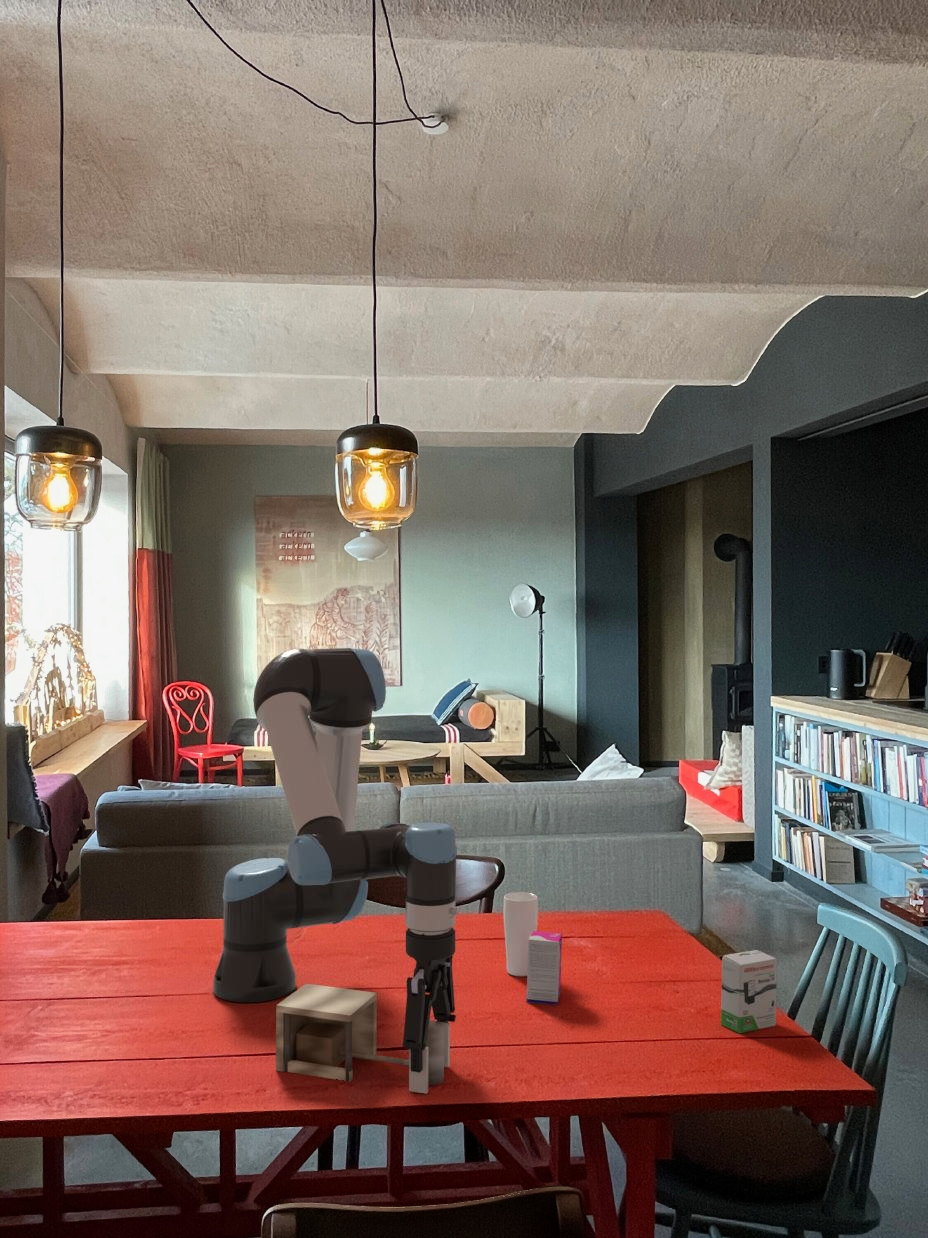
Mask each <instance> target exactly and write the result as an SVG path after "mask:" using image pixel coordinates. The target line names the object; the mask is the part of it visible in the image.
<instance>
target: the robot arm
mask: <svg viewBox="0 0 928 1238" xmlns="http://www.w3.org/2000/svg"><path fill="white" fill-rule="evenodd" d="M386 685H387V684H386V678H385V673H384V670H383V667H382V664H381V662H380V660H379V658H378V657H377V656H376V654H375V653H374V652H373V651H371V650H369V649H364V648H362V649H361V648H352V647H339V648H293V649H289V650H286V651H284V652H281V653H280V654H278V655H276V656H275V657H274V658H273V659H271V660H270V662H268V664H266V666H264V668H263V669H262V670H261V673H260V675H259V677H258V679H257V681H256V684H255V686H254V687H255V688H254V691H253V692H254V693H253V702H252V703H253V710H254V714H255V718H256V721H257V724H258V725H259V727H261V728H262V729H264V730H265V731H266V734H267V736H268V742H269V744H270V748H271V751H272V755H273V758H274V761H275V765H276V768H277V772H278V775H279V779H280V782H281V785H282V789H283V792H284V795H285V799H286V803H287V806H288V809H289V813H290V816H291V820H292V823H293V826H294V827H293V828H294V831H295V834H296V836H294V837H293V838H292V839H291V840H290V842H289V845H288V848H287V861H288V863H287V861H286V859H283V858H280V857H269V858H267V857H263V858H256V859H250V860H248V861H247V860H246V861H244V862H242V863H239V864H237V865H234V866H233V867H232V868H230V869H229V870H228V871H227V872H226V874H225V877H224V881H223V892H222V900H223V926H222V927H223V932H222V933H223V934H222V936H223V942H222V943H223V944H222V945H223V946H222V952H221V954H220V958H219V961H218V965H217V966H216V970H215V973H214V977H213V982H212V983H213V989H212V990H213V994H214V995H215V996H216V997H218V998H220V999H222V1000H224V1001H230V1002H234V1003H261V1002H268V1001H272V1000H276V999H280V998H283V997H285V996H286V997H287V995H289V994H292V993H293V991H294V990H295V989H296V987H297V985H296V984H297V981H296V980H297V979H296V978H297V976H296V970H295V968H294V965H293V961H292V959H291V955H290V951H289V948H288V944H287V943H288V941H287V937H288V936H287V935H288V930H290V929H298V928H306V927H315V926H322V925H328V924H332V925H337V924H339V923H342V922H343V923H344V922H347V921H352V920H354V919H356V918H357V917H358V916H359V915H360V914H361V913H362V911H363V910H364V908H365V905H366V901H367V897H368V891H369V887H368V886H369V882H368V881H367V880H370V879H371V880H372V879H378V878H379V879H380V878H388V877H389V878H390V877H401V878H403V879H404V880H405V918H404V919H405V923H404V924H405V926H406V927H407V929H406V930H405V953H406V955H407V956H409V957H410V958H412V959H414V961H415V967H414V970H413V974H412V976H413V977H410V976H408V977H407V978H406V1001H405V1002H406V1004H405V1015H404V1029H403V1041H402V1047H403V1049H406V1050H409V1051H408V1053H409V1054H408V1055H409V1057H408V1060H409V1066H408V1070H409V1071H408V1091H409V1092H415V1093H420V1094H425V1095H426V1094H428V1092H429V1086H428V1047H426V1040H427V1034H428V1027H429V1020H430V1019H431V1013H432V1015H433V1018H434V1021H438V1022H441V1023H443V1024H444V1068H448V1067H449V1066H450V1062H451V1061H450V1059H451V1058H450V1057H451V1055H450V1051H451V1050H450V1049H451V1047H450V1046H451V1045H450V1043H451V1041H450V1038H451V1037H450V1036H451V1034H450V1033H451V1029H450V1026H451V1023H455V1022H456V1019H457V1018H456V1017H457V1015H456V1014H455V1011H456V1007H455V1006H456V1003H455V993H454V992H455V990H454V989H455V988H454V977H453V956H454V954H455V952H456V930H455V928H454V927H455V925H456V915H457V914H459V909H458V908H457V907H456V890H457V889H456V888H457V887H456V883H457V881H456V879H457V877H456V876H457V856H458V855H457V853H458V849H457V846H456V845H457V843H456V842H457V841H456V832H455V829H454V827H453V826H451V825H450V824H447V823H442V822H441V823H440V822H435V821H431V822H429V821H427V822H417V823H413V824H411V825H410V824H409V825H407V824H406V823H402V822H400V823H399V822H388V823H386V824H384V825H382V826H381V827H380V828H373V829H362V830H354V829H355V828H354V827H355V819H356V807H357V793H358V785H359V774H360V761H361V760H360V759H361V749H362V739H363V732H364V730H366V729H367V728H368V727H369V726H370V725H371V724H372V717H373V712H378V711H380V710H382V708H383V707H384V704H385V702H386V695H387V690H386V688H387V687H386ZM312 724H313V725H314V726H315V729H316V730H315V733H314V729H313V726H312Z"/></svg>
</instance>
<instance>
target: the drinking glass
mask: <svg viewBox="0 0 928 1238" xmlns="http://www.w3.org/2000/svg"><path fill="white" fill-rule="evenodd" d="M538 898H539V897H538V896H537V895H536V894H534V893H530V892H523V891H522V892H519V891H517V892H509V893H506V894H505V895H504V896H503V911H502V912H503V928H504V929H503V931H504V941H505V955H506V971H507V973H508V974H509V975H511V976H514V977H527V975H528V942H529V941H528V940H529V938H530V936H531V933H532V932H533V931H537V930H538V920H539V903H538V900H539V899H538Z"/></svg>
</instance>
